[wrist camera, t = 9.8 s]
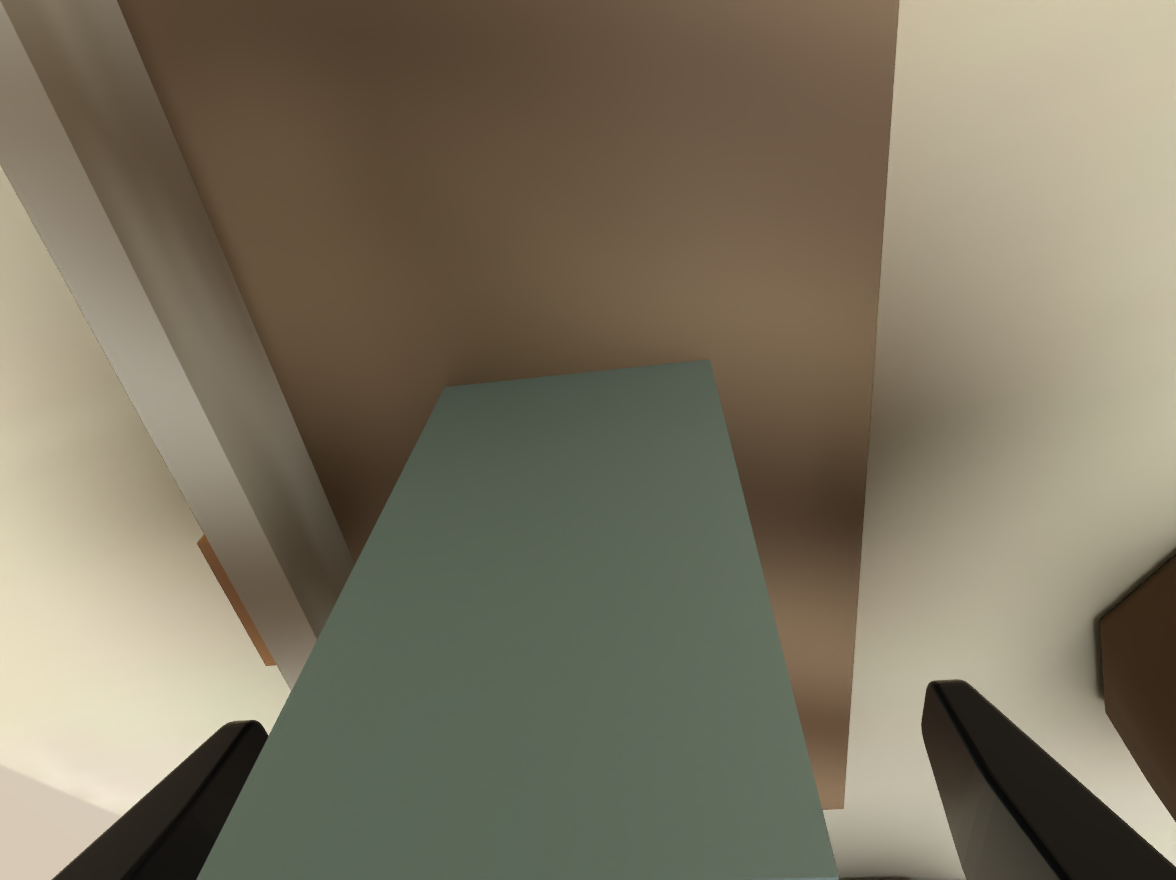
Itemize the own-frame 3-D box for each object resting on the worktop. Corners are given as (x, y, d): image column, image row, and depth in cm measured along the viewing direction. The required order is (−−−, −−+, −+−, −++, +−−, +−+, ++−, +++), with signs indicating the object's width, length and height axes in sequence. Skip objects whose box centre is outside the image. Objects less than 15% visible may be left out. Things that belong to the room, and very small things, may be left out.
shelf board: (828, 755, 19) (866, 893, 16) (428, 774, 20) (394, 905, 17) (874, -225, 9) (1005, -357, 6) (62, -55, 10) (-179, -90, 7)
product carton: (710, 359, 11) (838, 875, 4) (722, 621, 14) (811, 1169, 7) (439, 387, 12) (178, 889, 5) (507, 635, 15) (404, 1158, 8)
